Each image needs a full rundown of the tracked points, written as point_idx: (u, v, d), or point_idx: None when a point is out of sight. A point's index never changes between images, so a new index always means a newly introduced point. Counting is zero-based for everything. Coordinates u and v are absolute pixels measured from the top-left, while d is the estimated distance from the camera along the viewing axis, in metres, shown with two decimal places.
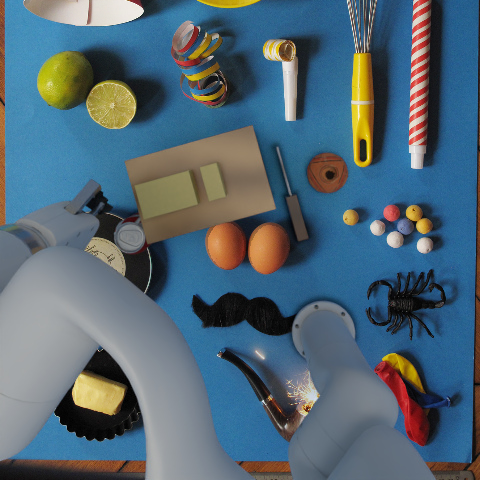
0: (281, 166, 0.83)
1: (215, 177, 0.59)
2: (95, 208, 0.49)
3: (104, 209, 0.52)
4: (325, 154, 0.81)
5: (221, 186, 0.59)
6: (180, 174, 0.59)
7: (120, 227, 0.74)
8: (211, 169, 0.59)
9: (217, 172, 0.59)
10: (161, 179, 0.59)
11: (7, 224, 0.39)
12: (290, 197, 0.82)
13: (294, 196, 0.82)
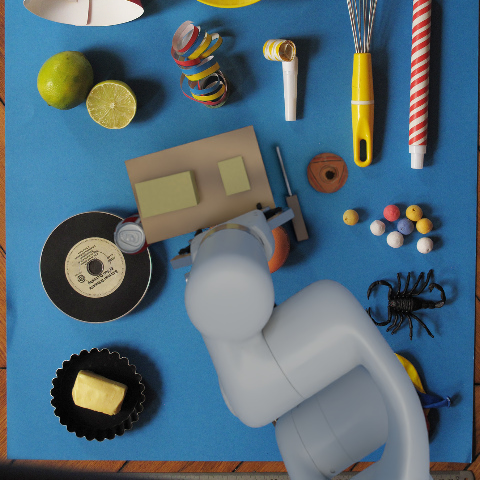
0: (281, 166, 0.83)
1: None
2: None
3: None
4: (325, 154, 0.81)
5: None
6: (181, 174, 0.59)
7: (120, 227, 0.74)
8: None
9: None
10: (161, 178, 0.59)
11: (246, 226, 0.46)
12: (290, 197, 0.82)
13: (294, 196, 0.82)
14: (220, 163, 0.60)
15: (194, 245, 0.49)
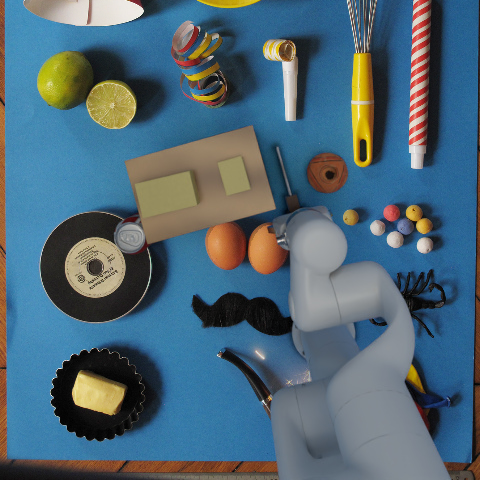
0: (281, 166, 0.83)
1: None
2: None
3: None
4: (325, 154, 0.81)
5: None
6: (181, 174, 0.59)
7: (120, 227, 0.74)
8: None
9: None
10: (161, 178, 0.59)
11: (320, 212, 0.67)
12: (290, 197, 0.82)
13: (294, 196, 0.82)
14: (220, 163, 0.60)
15: (279, 221, 0.71)
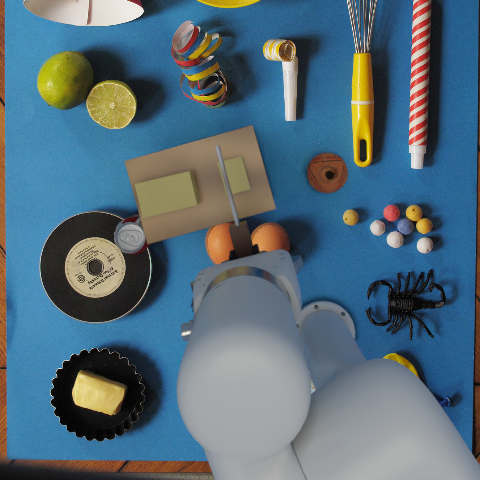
0: None
1: None
2: None
3: None
4: (325, 154, 0.81)
5: None
6: (181, 174, 0.59)
7: (120, 227, 0.74)
8: None
9: None
10: (161, 178, 0.59)
11: (272, 274, 0.35)
12: (236, 229, 0.50)
13: (242, 227, 0.50)
14: None
15: (199, 284, 0.38)
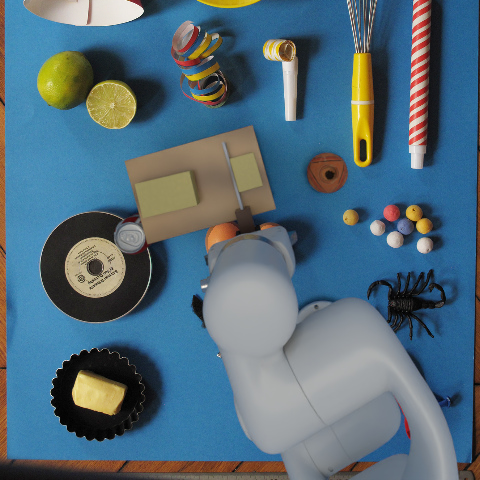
0: None
1: None
2: None
3: None
4: (325, 154, 0.81)
5: None
6: (181, 174, 0.59)
7: (120, 227, 0.74)
8: None
9: None
10: (161, 178, 0.59)
11: (270, 240, 0.44)
12: (241, 212, 0.59)
13: (246, 210, 0.59)
14: (232, 159, 0.60)
15: (213, 252, 0.48)
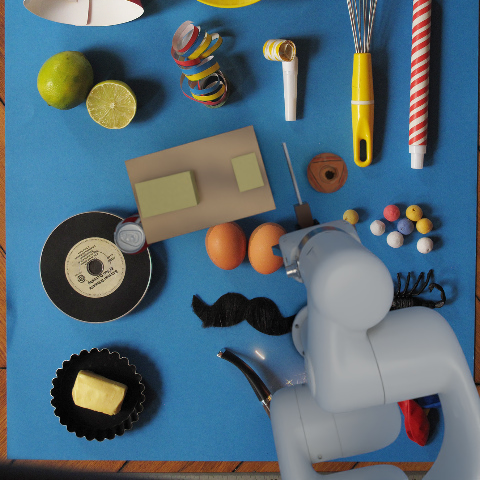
0: (289, 167, 0.65)
1: None
2: None
3: None
4: (325, 154, 0.81)
5: None
6: (181, 174, 0.59)
7: (120, 227, 0.74)
8: None
9: None
10: (161, 178, 0.59)
11: (345, 231, 0.49)
12: (300, 206, 0.64)
13: (305, 205, 0.64)
14: (233, 159, 0.60)
15: (288, 243, 0.53)
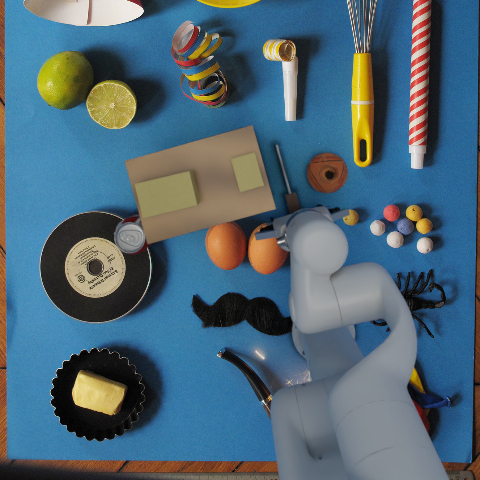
0: (280, 164, 0.83)
1: None
2: None
3: None
4: (325, 154, 0.81)
5: None
6: (181, 174, 0.59)
7: (120, 227, 0.74)
8: None
9: None
10: (161, 178, 0.59)
11: (321, 213, 0.67)
12: (289, 195, 0.82)
13: (293, 194, 0.82)
14: (233, 159, 0.60)
15: (279, 222, 0.70)
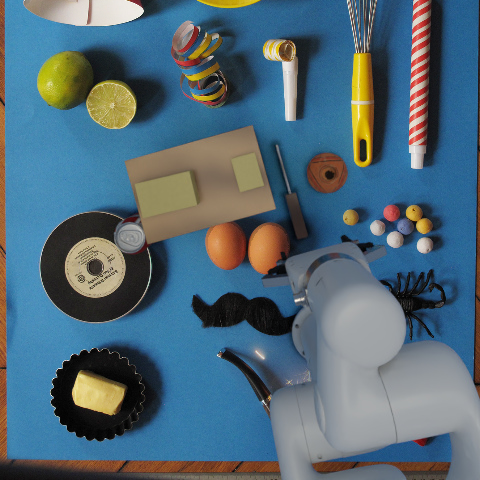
0: (280, 164, 0.83)
1: None
2: None
3: None
4: (325, 154, 0.81)
5: None
6: (181, 174, 0.59)
7: (120, 227, 0.74)
8: None
9: None
10: (161, 178, 0.59)
11: (354, 258, 0.48)
12: (289, 195, 0.82)
13: (293, 194, 0.82)
14: (233, 159, 0.60)
15: (296, 268, 0.52)
